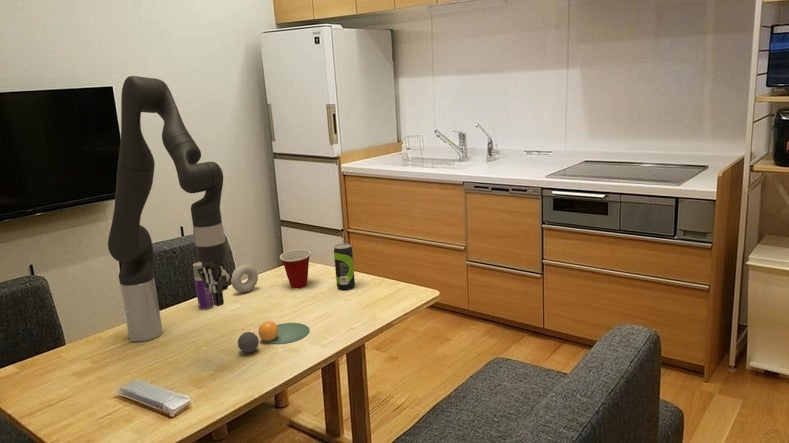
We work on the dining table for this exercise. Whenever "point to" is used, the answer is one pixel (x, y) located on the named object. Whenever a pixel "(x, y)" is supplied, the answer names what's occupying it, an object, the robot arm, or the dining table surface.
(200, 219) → the robot arm
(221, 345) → the dining table surface
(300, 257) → the plastic cup
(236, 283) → the donut
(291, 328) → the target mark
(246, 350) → the dark grey ball
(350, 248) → the beverage can
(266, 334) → the orange ball
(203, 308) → the container
